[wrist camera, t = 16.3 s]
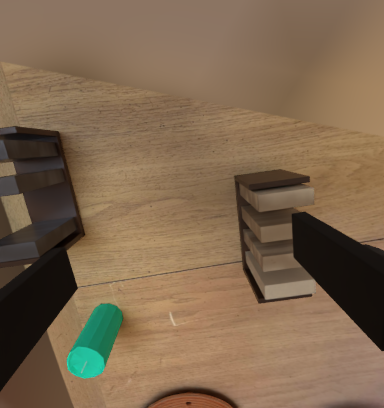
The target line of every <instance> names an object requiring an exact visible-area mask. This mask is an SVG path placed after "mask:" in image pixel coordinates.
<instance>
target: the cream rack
mask: <svg viewBox="0 0 384 408" xmlns="http://www.w3.org/2000/svg"><path fill="white" fill-rule="evenodd" d="M234 178H235V188H236V199H237V210H238V220H239V231H240V241H241V252H242V262H243V270H244V273H245V275H246V277H247V279H248V281H249V283H250V286H251V288H252V290H253V292H254V294H255V297H256V299H257V301H258V303H266V302H274V301H281V300H289V299H297V298H304V297H312V294H306V295H298V296H291V297H283V298H276V299H268V300H265V298H264V296H263V294H262V292H261V290H260V288H259V286H258V284H257V282H256V280H255V278H254V276H253V274H252V272H251V270H250V269H249V267H248V265H247V263H246V253H245V252H246V251H251V252H252V254H253V256H254V257H255V259H256V260H257V262H258V264H259V265H260V267H261V269H262V270H263V272H267V271H274V270H282V269H289V268H296V267H302V266H301V265H300V264H299V263H298V262H297V261H296V260H295V259H294V257H293V237H292V213H299V212H300V211H298V210H296V209H294V208H293V207H300V206H308V205H314V188H313V187H310V186H307V185H304V184H301V183H307V182H310V177H309V176H306V175H302V174H297V173H293V172H289V171H285V170H281V169H279V170H272V171H265V172H258V173H251V174H243V175H236V176H234Z"/></svg>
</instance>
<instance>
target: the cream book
mask: <svg viewBox="0 0 384 408" xmlns="http://www.w3.org/2000/svg"><path fill="white" fill-rule="evenodd" d="M245 253H246V263H247V265H248V267H249V269H250V270H251V272H252V274H253V276H254V278H255V280H256V282H257V284H258V286H259V288H260V290H261V292H262V294H263V296H264V298H265V300H268V299H276V298H283V297H291V296H298V295H306V294H313V293H316V281H315V280H314V279H313V278H312V277H311V275H310V274H309V273H308V272H307V271H306V270H305V269H304V268H303V267H296V268H289V269H282V270H274V271H267V272H263V270H262V269H261V267H260V265H259V264H258V262H257V260H256V259H255V257H254V256H253V254H252V252H251V251H246V252H245Z"/></svg>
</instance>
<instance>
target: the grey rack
mask: <svg viewBox="0 0 384 408" xmlns="http://www.w3.org/2000/svg"><path fill="white" fill-rule="evenodd" d="M6 162H13V163H14V166H15V170H16V173H17V174H16V175H10V176H4V177H0V197H1V196H9V195H16V194H21V193H23V196H24V199H25V202H26V205H27V208H28V212H29V215H30V218H31V221H32V224H30V225H28V226H26V227H24V228H22V229H20V230H18V231H16V232H14V233H12V234H10V235H8V236H6V237H4V238H2V239H0V268H3V267H11V266H18V265H26V264H33V263H35V262H36V261H37V260H38V259H40V258H41V257H42V256H43V255H45V254H46V253H47V252H49V251H50V250H51V249H54V248H60V247H65V248H66V251H67V250H68V249H69V248H70V247H71V246H72V245H74V244H75V243H76V242H77V241H78V240H79V239H81V238H82V237H83V236H84V235H85V233H84V229H83V225H82V221H81V217H80V214H79V210H78V206H77V202H76V198H75V194H74V190H73V186H72V182H71V179H70V175H69V171H68V167H67V163H66V159H65V155H64V151H63V148H62V144H61V140H60V136H59V132H58V131H50V130H42V129H34V128H26V127H17V126H13V127H6V128H0V163H6Z"/></svg>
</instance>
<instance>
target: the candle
mask: <svg viewBox="0 0 384 408" xmlns="http://www.w3.org/2000/svg"><path fill="white" fill-rule="evenodd" d="M122 320H123V316H122V312H121V311H120V309H119V308H118V307H117V306H114V305H112V304H101V305H99V306H98V307H96V308H95V309H94V311H93V313H92V314H91V316H90V318H89V320H88V321H87V323H86V325H85V327H84V328H83V330H82V332H81V334H80V335H79V337H78V339H77V341H76V342H75V344H74V346H73V348H72V349H71V351H70V353H69V355H68V358H67V367H68V370H69V371H70V372H71V373H72V374H74V375H75V376H78V377H81V378H91V377H95V376H97V375H99V374H101V373H102V372H103V370H104V368H105V366H106V363H107V360H108V358H109V355H110V352H111V350H112V347H113V344H114V342H115V339H116V336H117V334H118V331H119V328H120V326H121V323H122Z"/></svg>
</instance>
